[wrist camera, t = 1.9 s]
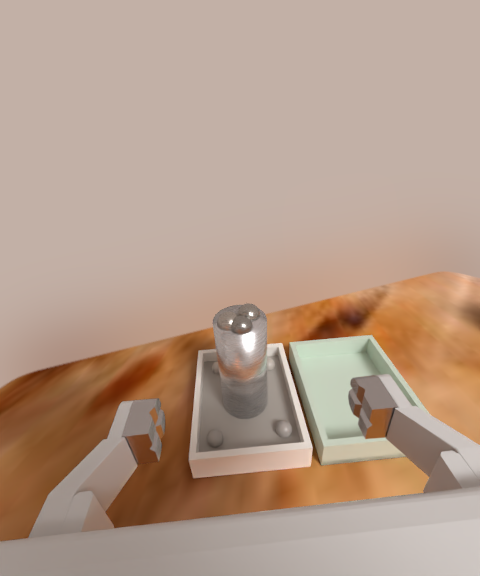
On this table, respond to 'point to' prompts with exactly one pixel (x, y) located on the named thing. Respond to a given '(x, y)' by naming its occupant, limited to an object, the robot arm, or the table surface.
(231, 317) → the chrome tube with bumps
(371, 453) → the bin
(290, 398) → the bin
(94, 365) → the table surface
